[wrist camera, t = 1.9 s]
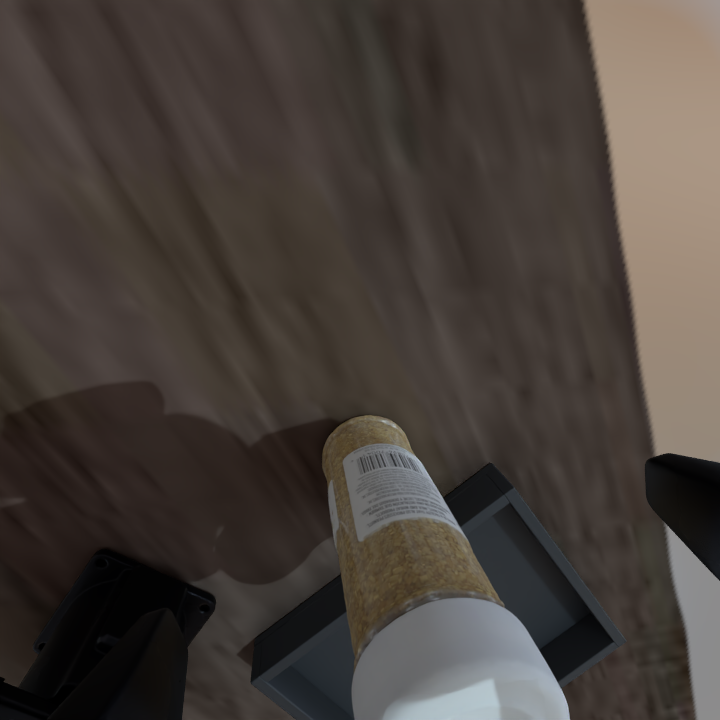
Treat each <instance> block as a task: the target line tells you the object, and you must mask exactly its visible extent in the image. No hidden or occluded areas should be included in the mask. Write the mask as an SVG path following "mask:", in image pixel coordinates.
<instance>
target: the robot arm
mask: <svg viewBox="0 0 720 720" xmlns="http://www.w3.org/2000/svg"><path fill="white" fill-rule="evenodd" d="M645 481H646V497H647V500H648V502H649V504H650V506H651V508H652V509H653V510H654V511H655V512H656V513H657V515H658V516H659V517H660V518H661V519H662V520H663V521H664V522H665V523H666V524H667V525H668V526H669V527H670V529H671V530H672V531H673V532H674V533H675V534H676V535H677V536H678V537H679V538H680V539H681V540H682V541H683V542H684V543H685V545H686V546H687V547H688V548H689V549H690V550H691V551H692V552H693V553H694V554H695V555H696V556H697V557H698V559H699V560H700V561H701V562H702V563H703V564H704V565H705V566H706V567H707V568H708V569H709V570H710V571H711V572H712V573H713V574H714V575H715V576H716V577H717V578H718V579H719V581H720V463H718V462H713V461H707V460H703V459H697V458H692V457H686V456H682V455H677V454H671V453H667V454H663V455H659V456H656V457H653V458H650V459H648V460H647V461H646V464H645ZM100 559H102V560H105V561H106V563H105V562H101V561H100ZM204 604H206V605H208V606H203V605H204ZM215 605H216V599H215V598H214V597H213V596H212V595H210V594H208V593H205V592H203V591H201V590H199V589H196V588H194V587H192V586H190V585H187V584H185V583H183V582H181V581H178V580H176V579H174V578H172V577H169V576H167V575H165V574H163V573H160V572H158V571H156V570H153V569H151V568H149V567H147V566H144V565H142V564H140V563H138V562H135V561H133V560H131V559H129V558H126V557H124V556H122V555H120V554H117V553H115V552H113V551H111V550H107V549H102V550H99V551H97V552H96V553H95V554H94V556H93V557H92V559H91V560H90V562H89V563H88V565H87V566H86V568H85V569H84V571H83V572H82V574H81V575H80V576H79V578H78V579H77V581H76V582H75V584H74V585H73V587H72V588H71V590H70V591H69V593H68V594H67V596H66V597H65V598H64V600H63V601H62V603H61V604H60V606H59V607H58V609H57V610H56V612H55V613H54V615H53V616H52V618H51V619H50V620H49V622H48V623H47V625H46V626H45V628H44V629H43V631H42V632H41V634H40V635H39V637H38V638H37V640H36V641H35V643H34V645H33V650H34V651H35V652H36V653H37V654H39V655H38V657H37V659H36V660H35V662H34V663H33V665H32V666H31V668H30V670H29V671H28V673H27V674H26V676H25V678H24V679H23V681H22V682H21V684H20V685H19V687H18V688H17V687H15V686H12V685H10V684H7V683H5V682H3V681H4V680H5V678H2V677H0V720H182V712H183V702H184V692H185V682H186V672H187V662H188V649H187V647H188V646H189V644H190V643H191V642H192V640H193V639H194V638H195V636H196V635H197V633H198V632H199V631H200V629H201V628H202V627H203V625H204V624H205V623H206V621H207V620H208V619H209V617H210V616H211V615H212V613H213V612H214V610H215Z"/></svg>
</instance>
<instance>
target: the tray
mask: <svg viewBox="0 0 720 720" xmlns="http://www.w3.org/2000/svg"><path fill="white" fill-rule="evenodd" d="M443 499H444V501H445V503H446V504H447V506H448V508H449V510H450V511H451V513H452V515H453V516H454V518H455V520H456V521H457V523H458V525H459V526H460V528H461V530H462V531H463V533H464V535H465V536H466V538H467V540H468V541H469V543H470V546H471V548H472V550H473V553H474V555H475V557H476V559H477V561H478V562H479V564H480V566H481V567H482V569H483V571H484V572H485V574H486V576H487V577H488V579H489V581H490V583H491V585H492V587H493V589H494V590H495V592H496V593H497V595H498V597H499V599H500V600H501V601H502V602H503V603H504V608H505V609H507V610H508V611H510V612H511V613H512V614H513V615H514V616H516V617H517V618H518V619H519V621H520V622H521V623H522V624H523V625H524V627H525V628H526V630H527V631H528V633H529V635H530V636H531V638H532V639H533V641H534V643H535V644H536V646H537V648H538V649H539V651H540V653H541V654H542V656H543V658H544V659H545V661H546V663H547V664H548V666H549V668H550V670H551V672H552V673H553V675H554V677H555V679H556V680H557V682H558V684H559V686H560V688H562V687H564V686H565V685H567V684H568V683H569V682H571V681H572V680H574V679H575V678H576V677H578V676H579V675H581V674H582V673H583V672H585V671H586V670H588V669H589V668H590V667H592V666H593V665H594V664H596V663H597V662H599V661H600V660H601V659H603V658H604V657H606V656H607V655H608V654H610V653H611V652H613V651H614V650H615V649H617V648H618V647H620V646H621V645H622V644H624V643H625V642H626V640H625V638H624V637H623V635H622V634H621V633H620V631H619V630H618V629H617V627H616V626H615V625H614V623H613V622H612V620H611V619H610V618H609V616H608V615H607V614H606V612H605V611H604V609H603V608H602V607H601V605H600V604H599V603H598V601H597V600H596V599H595V597H594V596H593V594H592V593H591V592H590V590H589V589H588V588H587V586H586V585H585V583H584V582H583V581H582V579H581V578H580V577H579V575H578V574H577V573H576V571H575V570H574V568H573V567H572V566H571V564H570V563H569V562H568V560H567V559H566V557H565V556H564V555H563V553H562V552H561V551H560V549H559V548H558V547H557V545H556V544H555V542H554V541H553V540H552V538H551V537H550V536H549V534H548V533H547V531H546V530H545V529H544V527H543V526H542V525H541V523H540V522H539V521H538V519H537V518H536V516H535V515H534V514H533V512H532V511H531V510H530V508H529V507H528V505H527V504H526V503H525V501H524V500H523V499H522V497H521V496H520V495H519V493H518V492H517V490H516V489H515V488H514V487H513V485H512V484H511V483H510V482H509V481H508V480H507V479H506V478H505V477H504V476H503V475H502V474H501V472H500V471H499V470H498V469H497V468H496V467H495V466H494V465H493V464H492V463H490V464H489V465H487V466H486V467H485V468H483V469H482V470H481V471H479V472H478V473H477V474H475V475H474V476H473V477H471V478H470V479H469V480H467V481H466V482H465V483H463V484H462V485H461V486H459V487H458V488H457V489H455V490H454V491H453V492H451V493H450V494H449V495H447V496H446V497H445V498H443ZM354 660H355V655H354V651H353V647H352V641H351V634H350V628H349V624H348V619H347V610H346V604H345V598H344V590H343V583H342V578H341V575H340V576H339V577H337V578H336V579H335V580H333V581H332V582H331V583H329V584H328V585H327V586H325V587H324V588H323V589H321V590H320V591H319V592H317V593H316V594H315V595H313V596H312V597H311V598H309V599H308V600H307V601H305V602H304V603H303V604H301V605H300V606H299V607H297V608H296V609H295V610H293V611H292V612H291V613H289V614H288V615H287V616H285V617H284V618H283V619H281V620H280V621H278V622H277V623H276V624H274V625H273V626H272V627H270V628H269V629H268V630H266V631H265V632H264V633H262V634H261V635H260V636H258V637H257V638H256V639H255V643H254V654H253V663H252V673H251V684H252V685H253V686H255V687H256V688H257V689H258V690H260V691H261V692H262V693H263V694H265V695H266V696H267V697H268V698H270V699H271V700H272V701H273V702H275V703H276V704H277V705H278V706H280V707H281V708H282V709H283V710H285V711H286V712H287V713H288V714H290V715H291V716H292V717H293V718H295V719H296V720H355V719H354V712H353V705H352V692H351V691H352V681H353V675H354Z"/></svg>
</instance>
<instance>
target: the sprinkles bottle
mask: <svg viewBox="0 0 720 720" xmlns="http://www.w3.org/2000/svg"><path fill="white" fill-rule="evenodd" d="M322 457H323V458H322V468H323V472H324V474H325V477H326V479H327V485H328V502H329V510H330V517H331V524H332V530H333V536H334V542H335V547H336V550H337V553H338V557H339V565H340V570H341V578H342V583H343V590H344V598H345V604H346V610H347V619H348V624H349V628H350V634H351V641H352V647H353V651H354V655H355V660H354V675H353V681H352V691H351V692H352V705H353V712H354V719H355V720H570V718H569V710H568V705H567V702H566V699H565V696H564V694H563V692H562V690H561V688H560V686H559V684H558V682H557V680H556V679H555V677H554V675H553V673H552V672H551V670H550V668H549V666H548V664H547V663H546V661H545V659H544V658H543V656H542V654H541V653H540V651H539V649H538V648H537V646H536V644H535V643H534V641H533V639H532V638H531V636H530V635H529V633H528V631H527V630H526V628H525V627H524V625H523V624H522V623H521V622H520V621H519V619H518V618H517V617H516V616H514V615H513V614H512V613H511V612H510V611H508V610H507V609H505V608H504V603H503V602H502V601H501V600H500V599H499V597H498V595H497V593H496V592H495V590H494V589H493V587H492V585H491V583H490V581H489V579H488V577H487V576H486V574H485V572H484V571H483V569H482V567H481V566H480V564H479V562H478V561H477V559H476V557H475V555H474V553H473V550H472V548H471V546H470V543H469V541H468V540H467V538H466V536H465V535H464V533H463V531H462V530H461V528H460V526H459V525H458V523H457V521H456V520H455V518H454V516H453V515H452V513H451V511H450V510H449V508H448V506H447V504H446V503H445V501H444V499H443V498H442V496H441V494H440V493H439V491H438V489H437V488H436V486H435V484H434V483H433V481H432V479H431V478H430V476H429V475H428V473H427V471H426V470H425V468H424V466H423V465H422V463H421V462H420V461H419V460H418V458H417V457H416V456H415V455H414V453H413V451H412V450H411V447H410V444H409V441H408V440H407V437H406V434H405V433H404V432H403V430H402V429H401V428H400V427H399V426H398V425H397V424H395V423H394V422H392V421H391V420H389V419H387V418H383V417H380V416H372V415H365V416H359V417H354V418H351V419H350V420H347V421H346V422H344V423H342V424H341V425H340V426H338V427H337V428H336V429H335V430H334V431H333V432H332V433H331V434H330V436H329V437H328V438H327V440H326V443H325V445H324V449H323V454H322Z"/></svg>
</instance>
